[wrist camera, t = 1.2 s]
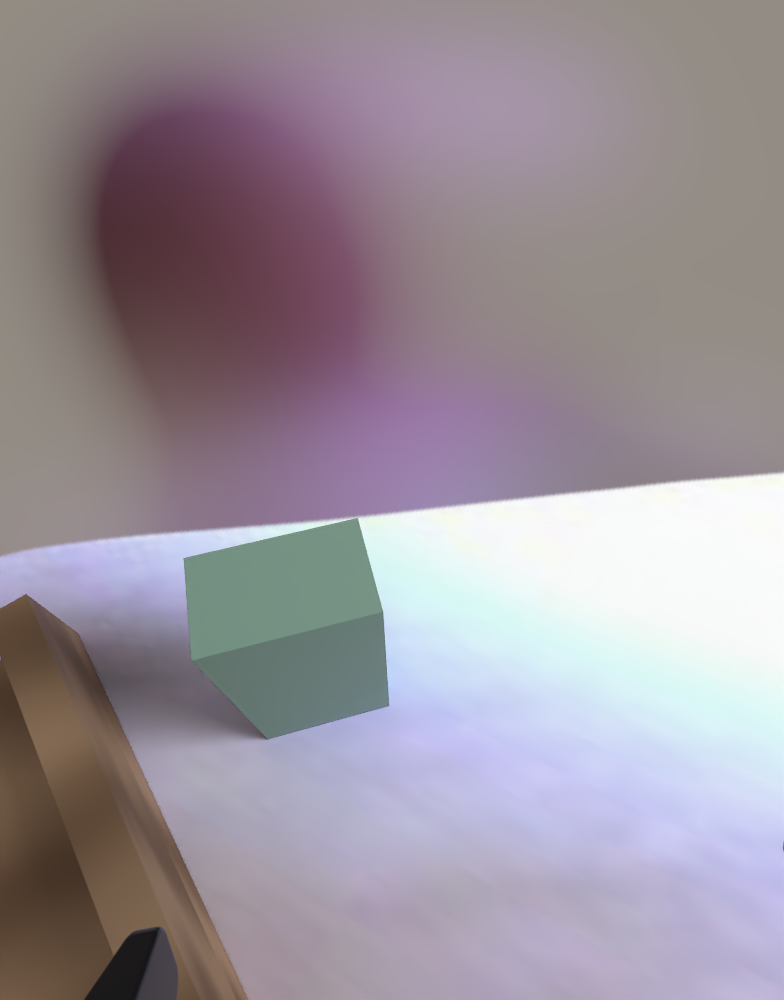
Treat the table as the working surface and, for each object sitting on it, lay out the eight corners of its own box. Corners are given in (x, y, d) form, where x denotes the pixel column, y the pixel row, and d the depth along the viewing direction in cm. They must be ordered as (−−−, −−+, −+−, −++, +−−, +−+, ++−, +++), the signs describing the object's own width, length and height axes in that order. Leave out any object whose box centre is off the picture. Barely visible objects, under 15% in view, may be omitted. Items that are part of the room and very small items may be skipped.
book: (389, 705, 24) (382, 611, 15) (266, 739, 23) (189, 661, 15) (371, 637, 25) (357, 518, 17) (256, 667, 24) (181, 558, 16)
